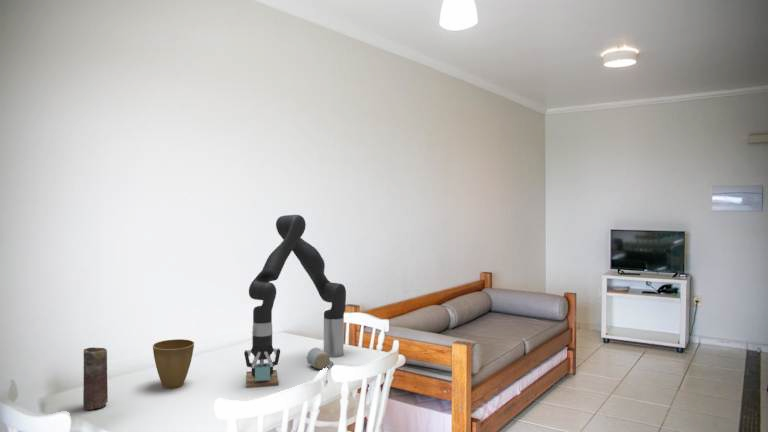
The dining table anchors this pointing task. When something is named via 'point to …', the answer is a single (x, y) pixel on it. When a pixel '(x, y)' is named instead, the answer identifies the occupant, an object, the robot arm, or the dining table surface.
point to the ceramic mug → (318, 358)
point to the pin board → (252, 383)
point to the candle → (95, 378)
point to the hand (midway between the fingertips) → (262, 376)
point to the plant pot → (173, 361)
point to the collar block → (262, 372)
